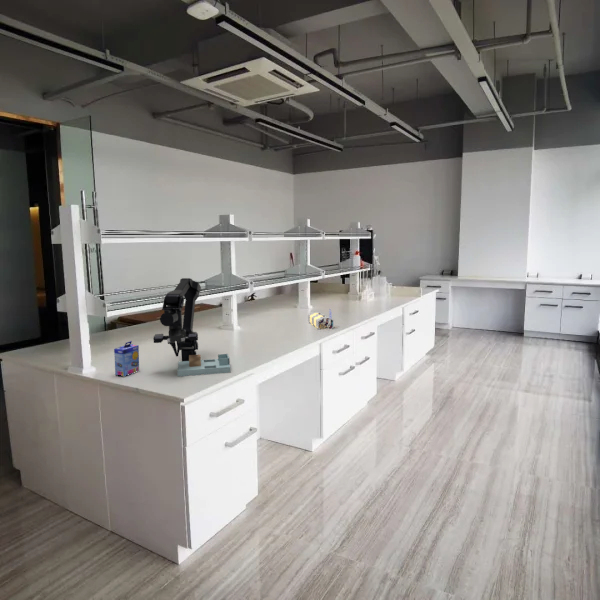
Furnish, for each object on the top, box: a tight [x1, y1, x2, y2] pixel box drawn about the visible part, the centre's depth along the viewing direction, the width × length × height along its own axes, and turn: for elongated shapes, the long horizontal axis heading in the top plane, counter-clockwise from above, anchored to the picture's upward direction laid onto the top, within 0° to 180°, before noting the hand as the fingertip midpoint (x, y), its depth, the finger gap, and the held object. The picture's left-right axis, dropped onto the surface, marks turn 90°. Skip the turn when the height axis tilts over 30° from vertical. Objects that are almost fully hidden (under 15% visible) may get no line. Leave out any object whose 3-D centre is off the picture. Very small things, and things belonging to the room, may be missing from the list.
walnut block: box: [189, 354, 202, 367], centre depth 202 cm, size 5×5×4 cm
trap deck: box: [176, 353, 231, 377], centre depth 203 cm, size 22×15×6 cm, turn 104°
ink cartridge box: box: [113, 340, 140, 377], centre depth 198 cm, size 10×6×14 cm, turn 159°
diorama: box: [307, 308, 334, 330], centre depth 300 cm, size 25×10×13 cm, turn 14°
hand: (177, 356), depth 200 cm, fingers closed
